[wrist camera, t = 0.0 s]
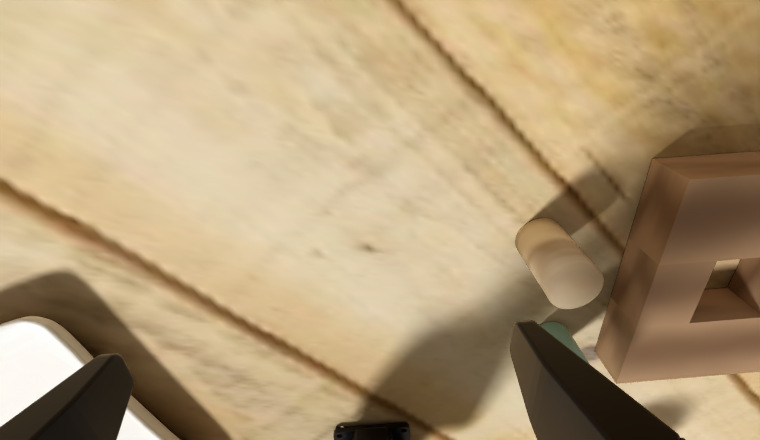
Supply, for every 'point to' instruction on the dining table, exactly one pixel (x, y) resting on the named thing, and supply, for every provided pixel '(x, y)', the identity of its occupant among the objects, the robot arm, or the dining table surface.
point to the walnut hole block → (688, 274)
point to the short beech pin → (558, 264)
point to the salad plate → (55, 373)
